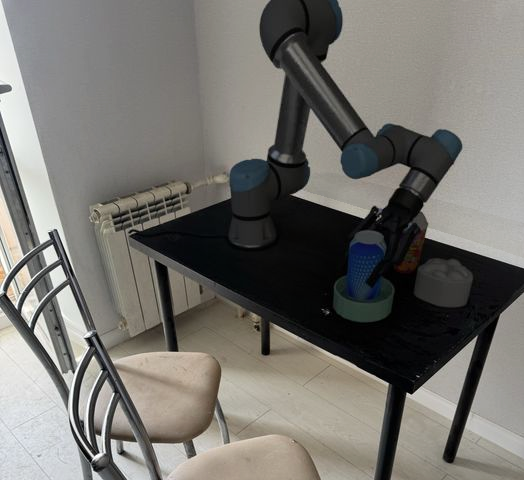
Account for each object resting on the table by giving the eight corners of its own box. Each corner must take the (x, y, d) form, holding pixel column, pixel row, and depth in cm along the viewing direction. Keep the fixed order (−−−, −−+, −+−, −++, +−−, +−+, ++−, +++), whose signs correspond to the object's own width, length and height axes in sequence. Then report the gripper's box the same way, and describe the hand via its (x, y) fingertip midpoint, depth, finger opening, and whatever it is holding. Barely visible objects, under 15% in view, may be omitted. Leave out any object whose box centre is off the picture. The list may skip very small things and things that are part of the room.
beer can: (382, 289, 127) (390, 230, 117) (376, 307, 121) (384, 247, 111) (349, 284, 129) (354, 226, 119) (342, 302, 123) (347, 242, 113)
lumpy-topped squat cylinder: (429, 279, 136) (435, 250, 130) (475, 296, 129) (483, 266, 123) (408, 294, 130) (413, 265, 125) (455, 313, 123) (463, 282, 117)
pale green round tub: (335, 323, 121) (336, 304, 118) (331, 291, 133) (332, 273, 129) (396, 323, 120) (399, 303, 117) (386, 291, 132) (389, 272, 128)
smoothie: (387, 274, 139) (396, 204, 126) (391, 260, 145) (401, 192, 133) (418, 278, 136) (430, 207, 124) (421, 264, 143) (434, 195, 130)
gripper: (454, 218, 112) (394, 302, 115) (384, 190, 126) (332, 266, 129) (443, 201, 107) (381, 290, 110) (371, 174, 120) (317, 254, 123)
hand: (355, 277), depth 119 cm, fingers closed on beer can, 8 cm apart
